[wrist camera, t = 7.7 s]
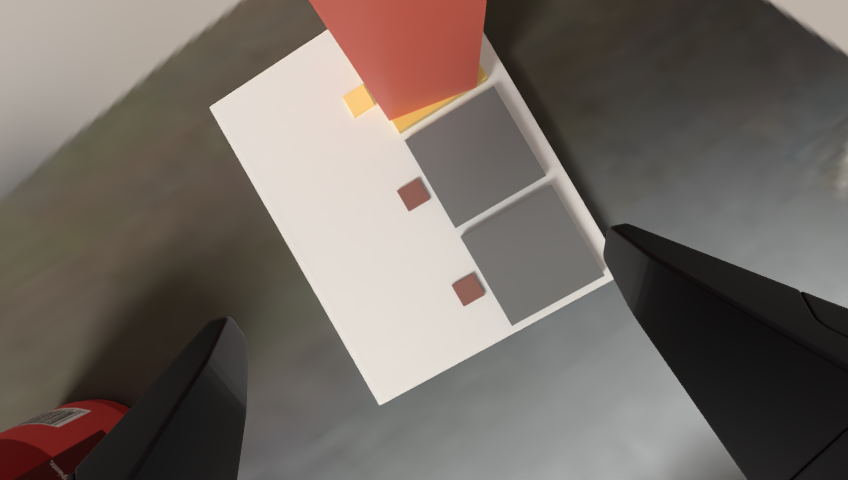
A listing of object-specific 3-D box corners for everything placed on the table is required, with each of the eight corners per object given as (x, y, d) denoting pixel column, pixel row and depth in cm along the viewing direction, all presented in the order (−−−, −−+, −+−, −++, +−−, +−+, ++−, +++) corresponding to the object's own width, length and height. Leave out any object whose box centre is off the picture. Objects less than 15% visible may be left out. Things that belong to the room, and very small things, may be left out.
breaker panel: (618, 271, 20) (629, 274, 19) (382, 398, 21) (377, 410, 20) (439, -34, 20) (438, -51, 19) (218, 111, 21) (202, 104, 20)
